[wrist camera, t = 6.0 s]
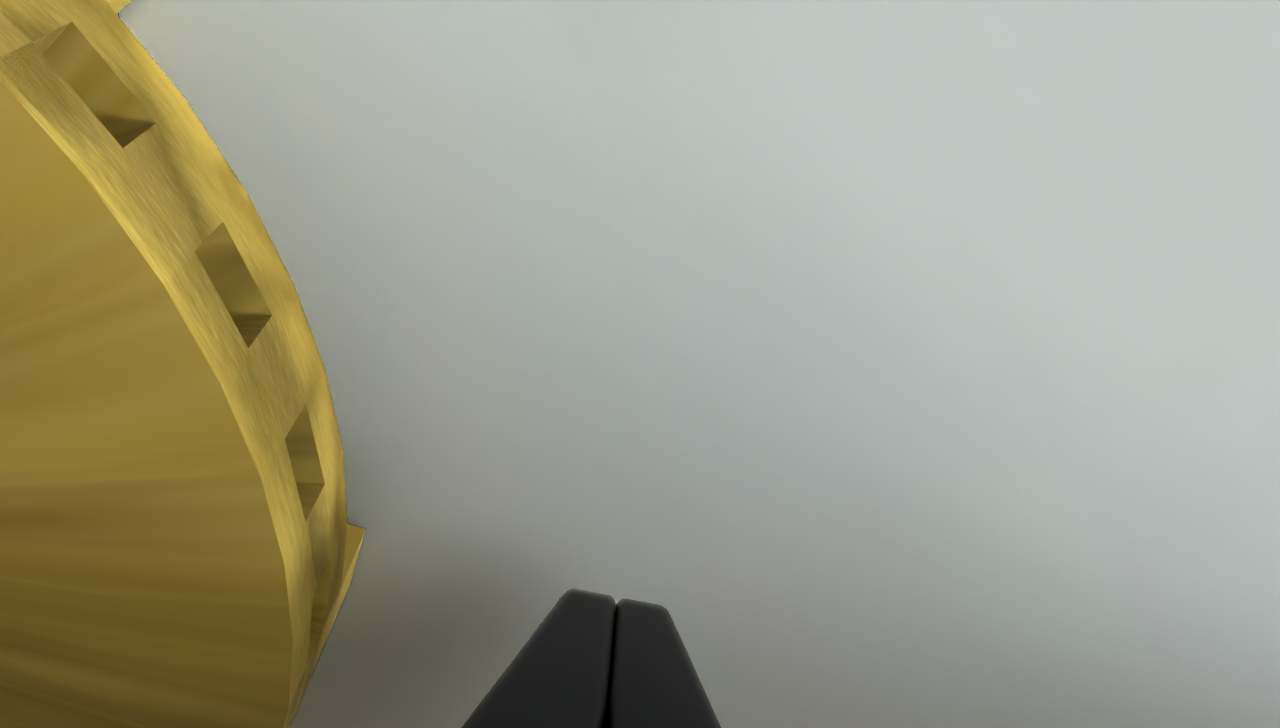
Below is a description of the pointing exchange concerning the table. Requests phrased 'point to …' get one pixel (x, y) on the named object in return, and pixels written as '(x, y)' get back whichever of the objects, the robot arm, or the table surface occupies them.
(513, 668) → the robot arm
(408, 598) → the table surface
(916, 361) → the table surface
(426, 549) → the table surface
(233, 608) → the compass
